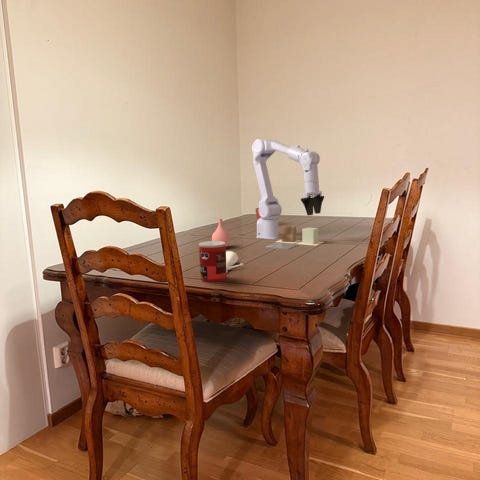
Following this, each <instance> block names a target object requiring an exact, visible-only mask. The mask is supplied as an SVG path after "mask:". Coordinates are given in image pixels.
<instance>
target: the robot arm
mask: <svg viewBox="0 0 480 480" xmlns="http://www.w3.org/2000/svg"><path fill="white" fill-rule="evenodd" d="M300 146H301V145H297V144H295V145H292V146H289V145H287V144H285V143H282V142H280V141H277V140H276V139H275V140H274V139H261V138H260V139H259V138H257V139H255V140H254V142H253V144H252V145H251V150H252V155H253V156H252V164H253V167H254V171H255V176H256V181H257V184H258V188H259V193H260V197H261V199H260V200H259V202H258V208H259V215H260V216H261V218H259V219H258V221H257V220H256V237H255V238H256V239H267V240H276V239H279V238H282V235H280V234H279V218H280V216H281V215H282V213H283V212H282V210H283V208H282V206H281V204H280V202H279V199H278V198H276V196H274V193H273V188H272V182H271V180H270V175H269V171H268V167H267V161H268V160H269V159H270V158H271V157H272V156H273V154H274V153H276V152H279V153H282V154H285V155H287V158H289V159H290V160H292V161H295V162H298V163H300V165H301V166H302V170H303V179H304V180H303V181H304V192H303V193H302V198H300V201H301V203H302V204H303V206H304V208H305V209H304V210H305V212H306V215H307V216H313V215H314V214H321V211H322V205H323V201H324V199H325V196H324V195H323V191H322V190H320V184H319V170H318V164H319V163H320V161H321V160H320V159H321V157H320V155H319V153H317V151H316V150H315V151H314V150H313V151H310V150H309V149H307V148H305V149H304V148H302V147H300Z"/></svg>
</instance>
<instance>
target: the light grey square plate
mask: <svg viewBox="0 0 480 480" xmlns="http://www.w3.org/2000/svg"><path fill="white" fill-rule="evenodd" d="M298 246H299V244H296V243H294V244H293V243H282V242H274V243H272V244H269V245H265V248H267V249H268V248H269V249H277V250H285V251H286V250H290V249H293V248H296V247H298Z"/></svg>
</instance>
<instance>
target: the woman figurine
mask: <svg viewBox="0 0 480 480" xmlns="http://www.w3.org/2000/svg"><path fill="white" fill-rule="evenodd" d="M238 260H239V257H238V254H237V253H236V252H234V251H230V250H226V270H227V273H228V271H230V270H231V269H234V268H237V267H243V266H244V265H245V263H243V262H240V264H236V263H238ZM235 264H236V265H235Z"/></svg>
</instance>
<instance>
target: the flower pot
mask: <svg viewBox="0 0 480 480" xmlns="http://www.w3.org/2000/svg"><path fill="white" fill-rule="evenodd" d="M255 216H256V222H257V221H258V219H259V218H261V216H260V215H259V207H258V208H257V207H256V208H255Z"/></svg>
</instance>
